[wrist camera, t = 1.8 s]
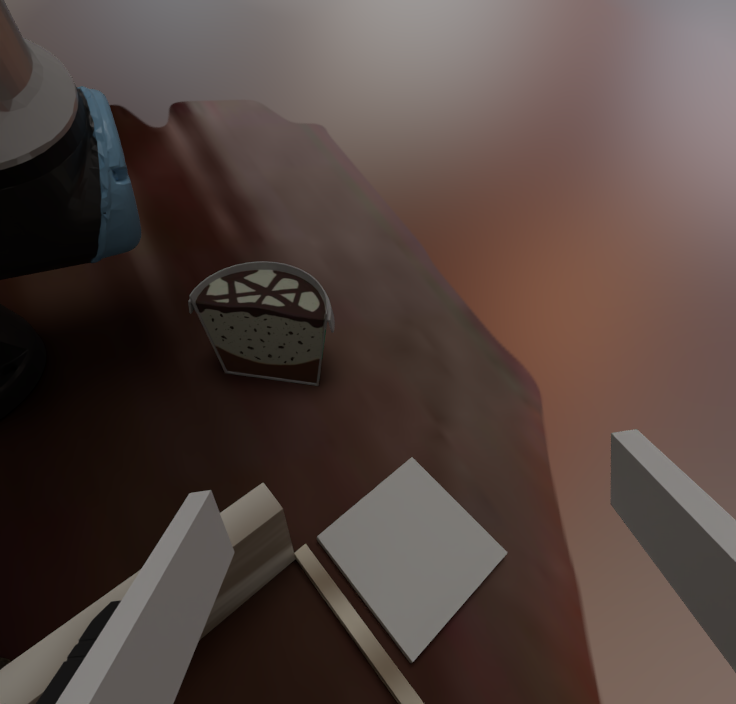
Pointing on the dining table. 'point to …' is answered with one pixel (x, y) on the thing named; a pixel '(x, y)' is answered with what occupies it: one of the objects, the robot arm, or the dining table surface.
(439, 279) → the dining table surface
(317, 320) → the food container
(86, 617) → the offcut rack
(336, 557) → the mat
